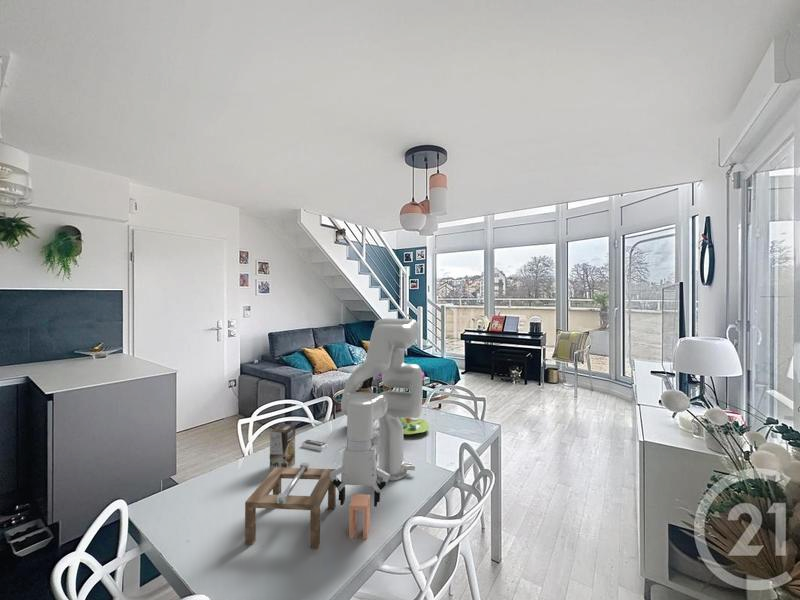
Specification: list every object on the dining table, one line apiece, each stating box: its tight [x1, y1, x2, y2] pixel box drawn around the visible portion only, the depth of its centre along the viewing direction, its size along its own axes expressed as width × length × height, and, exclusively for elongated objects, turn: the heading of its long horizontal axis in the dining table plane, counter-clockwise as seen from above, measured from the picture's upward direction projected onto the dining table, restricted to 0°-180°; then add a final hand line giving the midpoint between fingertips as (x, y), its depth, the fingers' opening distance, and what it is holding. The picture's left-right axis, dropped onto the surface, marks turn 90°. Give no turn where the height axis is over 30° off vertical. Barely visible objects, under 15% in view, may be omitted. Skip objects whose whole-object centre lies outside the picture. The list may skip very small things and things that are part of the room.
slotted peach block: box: [348, 493, 371, 540], centre depth 102 cm, size 5×6×9 cm
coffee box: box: [269, 423, 296, 473], centre depth 140 cm, size 9×6×16 cm
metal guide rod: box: [277, 462, 310, 504], centre depth 105 cm, size 2×20×2 cm, turn 176°
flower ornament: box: [377, 371, 431, 435], centre depth 184 cm, size 30×28×35 cm
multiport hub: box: [301, 439, 328, 452], centre depth 160 cm, size 4×11×2 cm, turn 66°
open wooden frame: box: [244, 467, 337, 550], centre depth 105 cm, size 20×20×12 cm
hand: (359, 503), depth 102 cm, fingers open, 9 cm apart
